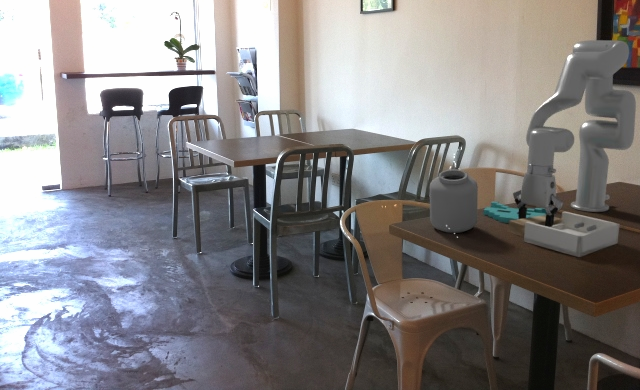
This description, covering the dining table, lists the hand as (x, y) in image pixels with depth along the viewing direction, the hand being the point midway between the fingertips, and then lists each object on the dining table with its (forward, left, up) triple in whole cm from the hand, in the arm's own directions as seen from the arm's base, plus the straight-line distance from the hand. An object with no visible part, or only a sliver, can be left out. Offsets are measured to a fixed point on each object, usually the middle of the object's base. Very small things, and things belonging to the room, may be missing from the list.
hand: (535, 223), depth 199 cm
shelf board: (0, 0, -3) cm, 3 cm away
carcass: (+2, +13, -3) cm, 14 cm away
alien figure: (-10, -15, -3) cm, 19 cm away
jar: (+20, -17, -3) cm, 26 cm away
